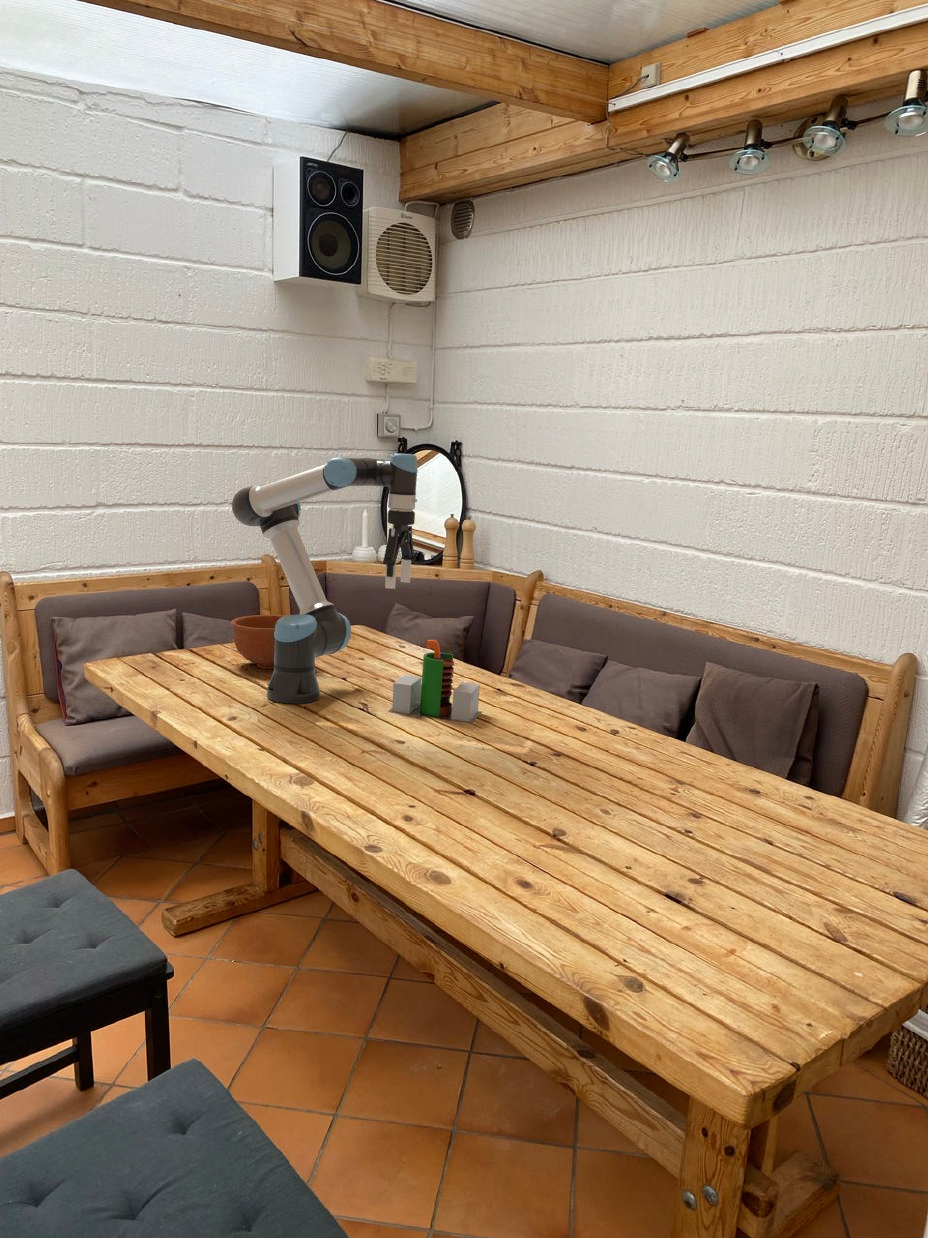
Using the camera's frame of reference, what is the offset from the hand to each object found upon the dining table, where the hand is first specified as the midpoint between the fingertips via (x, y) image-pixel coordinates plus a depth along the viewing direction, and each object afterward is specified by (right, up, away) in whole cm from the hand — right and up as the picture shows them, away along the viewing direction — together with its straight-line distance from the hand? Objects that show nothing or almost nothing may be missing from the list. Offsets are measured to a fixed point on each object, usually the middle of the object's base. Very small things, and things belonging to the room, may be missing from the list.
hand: (397, 585), depth 269 cm
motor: (+11, -35, -4) cm, 37 cm away
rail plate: (+11, -37, -4) cm, 38 cm away
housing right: (+19, -36, -6) cm, 41 cm away
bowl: (-45, -25, +42) cm, 66 cm away
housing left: (+3, -34, -2) cm, 35 cm away
